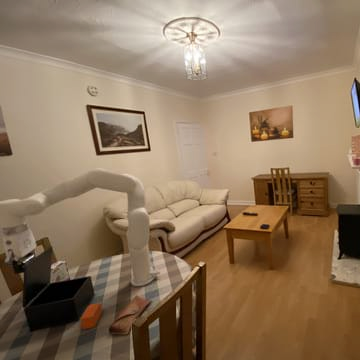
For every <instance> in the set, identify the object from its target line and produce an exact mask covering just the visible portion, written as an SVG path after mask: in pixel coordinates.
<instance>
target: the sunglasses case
mask: <svg viewBox="0 0 360 360" xmlns="http://www.w3.org/2000/svg"><path fill="white" fill-rule="evenodd" d="M151 303H152V301H151V300H148V299H145V298H143V297H141V296H138V294H137V295H134V297H133V299H132V300H131V301H130V302H129V303H128V304H127V305H126V306H125V307H124V309H123V310H122V311H121V312H120V313H119V314H118V316H116V318H115V320H114V321H113V322H112V323H111V324H110V326H109V327H108V332H109V334H111V335H119V336H121V335H122V336H123V335H128V334H129V333H130V332H131V330H132V328H131V323H132V322H133V321H134V320H135V319H137V318H138V317H139V318H140V317H141V316H142V315H143V314H144V312H145V311H146V309H147V308H148V307H149V305H150V304H151ZM139 318H138V319H139Z"/></svg>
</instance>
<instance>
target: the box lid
mask: <svg viewBox="0 0 360 360" xmlns="http://www.w3.org/2000/svg"><path fill="white" fill-rule="evenodd" d="M34 255H35V254H34ZM34 255H30V256H28V257H27V258H25V257H24V259H23V260H22V259H21V263H23V266H24V273H23V282H22V283H23V284H22V303H21V305H22V306H21V308H22V309H24V308H25V307H26V306H27V305H28V304H29V303H30V302H31V301H32V300H33V299H34V298H35V297H36V296H37V295H38V294H39V293H40V292H41V291H42V290H43V289H44V288H45V287H46V286H47V285H48V284H49V283H50V278H51V265H52V261H53V260H52V259H53V246H49V247H48V248H46V249H45V250H43V251H42V252H41V253H39V254H38V255H35V256H34ZM32 259H33V260H32ZM29 261H30V262H29Z"/></svg>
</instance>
